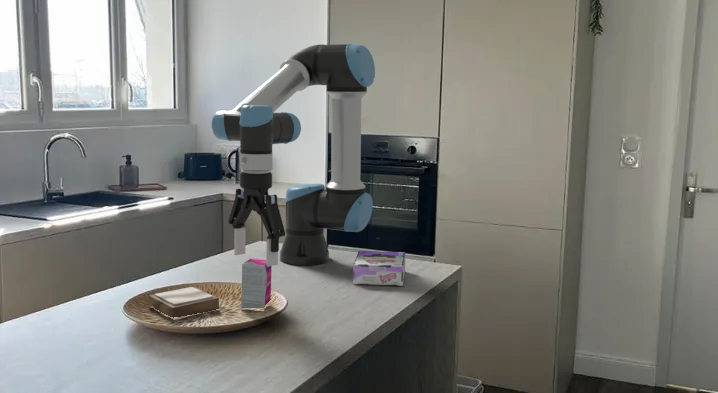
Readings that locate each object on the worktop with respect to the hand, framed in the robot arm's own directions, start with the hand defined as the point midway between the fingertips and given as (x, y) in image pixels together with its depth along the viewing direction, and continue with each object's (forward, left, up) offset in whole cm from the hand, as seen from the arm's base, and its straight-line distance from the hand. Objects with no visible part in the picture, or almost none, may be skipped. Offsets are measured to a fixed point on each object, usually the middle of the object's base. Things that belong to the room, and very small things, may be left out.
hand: (255, 259), depth 171 cm
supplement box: (0, 0, -12) cm, 12 cm away
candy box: (-6, +48, -9) cm, 50 cm away
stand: (-10, -14, -12) cm, 21 cm away
